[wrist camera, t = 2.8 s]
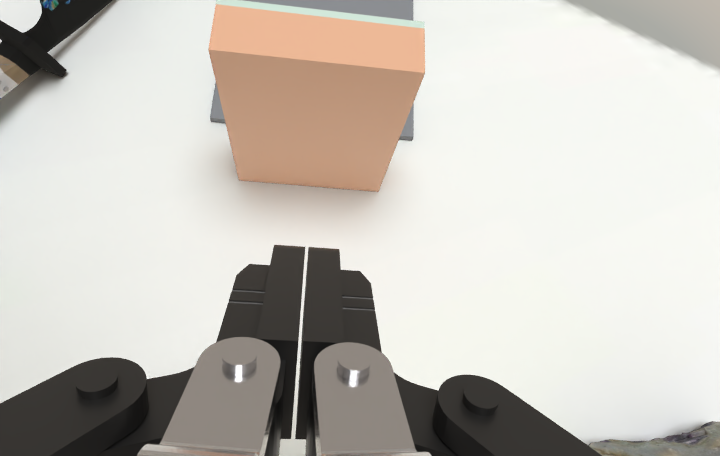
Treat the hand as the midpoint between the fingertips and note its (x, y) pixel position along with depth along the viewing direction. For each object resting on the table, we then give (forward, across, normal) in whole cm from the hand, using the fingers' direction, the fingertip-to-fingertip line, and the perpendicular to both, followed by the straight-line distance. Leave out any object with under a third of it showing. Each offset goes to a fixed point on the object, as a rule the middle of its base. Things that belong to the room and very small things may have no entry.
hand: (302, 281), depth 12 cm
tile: (+25, 0, +6) cm, 26 cm away
